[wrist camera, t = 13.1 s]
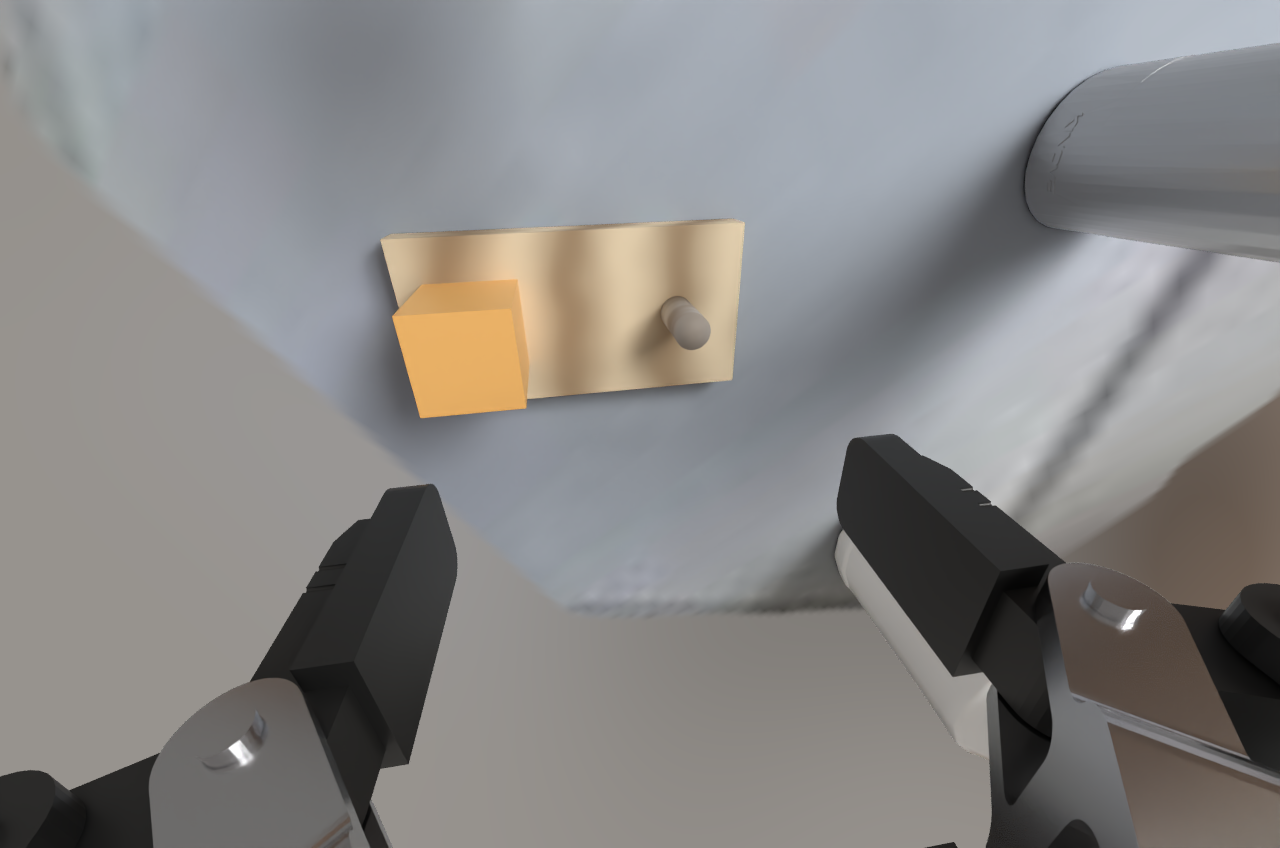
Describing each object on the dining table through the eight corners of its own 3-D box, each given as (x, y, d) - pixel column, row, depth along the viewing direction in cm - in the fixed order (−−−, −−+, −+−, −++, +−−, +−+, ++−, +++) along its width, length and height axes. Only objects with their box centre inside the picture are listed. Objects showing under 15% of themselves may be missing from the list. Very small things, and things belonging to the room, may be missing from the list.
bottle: (802, 567, 47) (1076, 1008, 23) (897, 454, 42) (1377, 868, 18) (901, 597, 52) (1209, 983, 28) (995, 500, 47) (1473, 870, 23)
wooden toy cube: (517, 279, 27) (511, 308, 22) (529, 364, 30) (526, 408, 25) (421, 284, 27) (391, 316, 22) (442, 371, 29) (420, 418, 24)
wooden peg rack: (733, 218, 30) (772, 232, 25) (722, 368, 35) (753, 406, 30) (390, 233, 27) (354, 253, 22) (432, 394, 32) (410, 441, 27)
